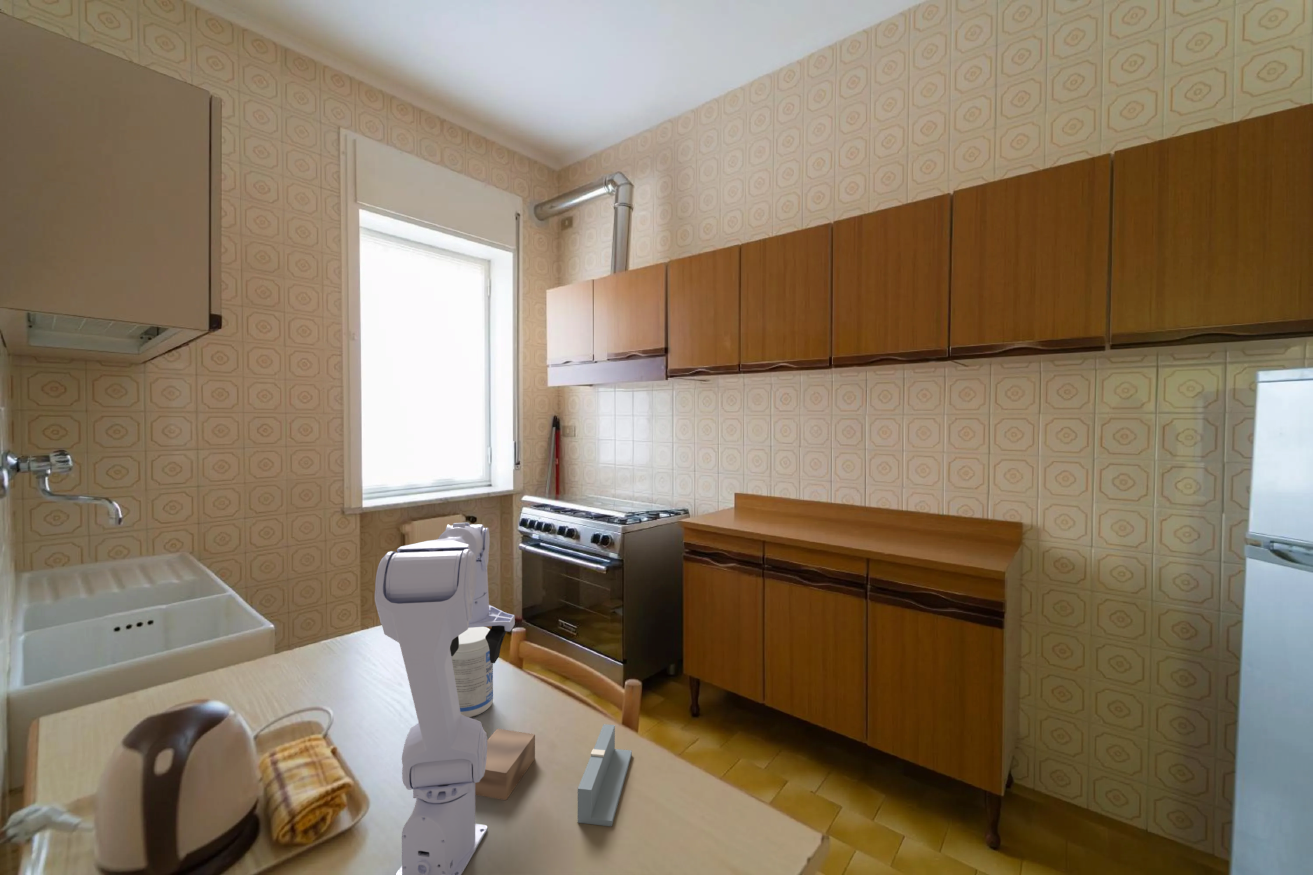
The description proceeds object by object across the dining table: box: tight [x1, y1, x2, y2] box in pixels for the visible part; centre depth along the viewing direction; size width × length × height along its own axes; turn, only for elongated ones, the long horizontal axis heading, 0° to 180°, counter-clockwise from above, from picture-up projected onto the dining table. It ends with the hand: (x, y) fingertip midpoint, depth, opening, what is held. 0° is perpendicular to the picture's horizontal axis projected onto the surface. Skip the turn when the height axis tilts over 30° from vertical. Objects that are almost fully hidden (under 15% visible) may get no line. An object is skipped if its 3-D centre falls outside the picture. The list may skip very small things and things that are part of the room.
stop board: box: [577, 723, 633, 827], centre depth 83 cm, size 16×5×5 cm, turn 172°
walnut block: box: [475, 728, 536, 801], centre depth 85 cm, size 10×7×4 cm
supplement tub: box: [451, 626, 494, 718], centre depth 105 cm, size 10×10×15 cm
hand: (474, 655), depth 92 cm, fingers open, 7 cm apart
